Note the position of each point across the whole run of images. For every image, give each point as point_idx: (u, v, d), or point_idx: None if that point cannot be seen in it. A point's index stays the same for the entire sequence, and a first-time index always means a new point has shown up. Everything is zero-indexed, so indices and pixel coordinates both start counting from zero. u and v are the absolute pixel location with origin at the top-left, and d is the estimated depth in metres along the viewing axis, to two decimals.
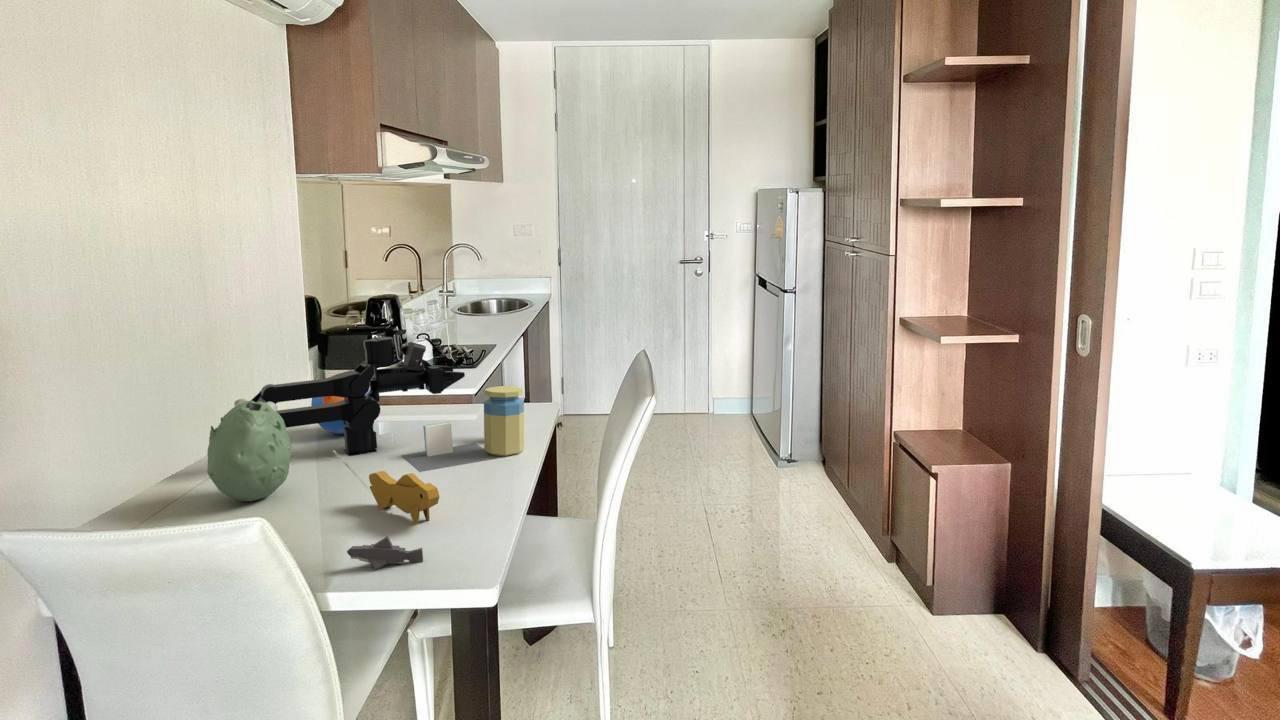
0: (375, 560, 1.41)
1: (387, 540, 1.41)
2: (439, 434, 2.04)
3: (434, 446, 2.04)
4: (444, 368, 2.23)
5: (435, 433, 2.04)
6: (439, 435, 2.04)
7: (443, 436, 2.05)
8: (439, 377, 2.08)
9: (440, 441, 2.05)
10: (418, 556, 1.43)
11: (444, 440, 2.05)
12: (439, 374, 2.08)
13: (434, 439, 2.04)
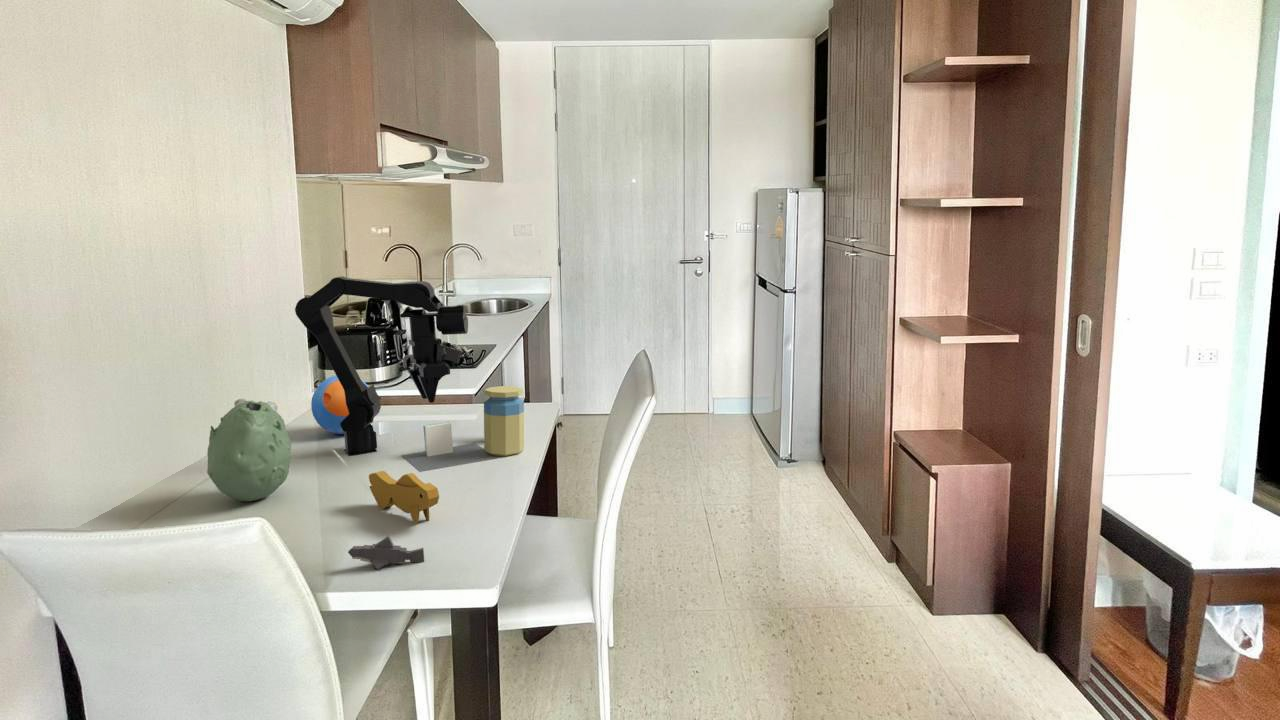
0: (376, 560, 1.41)
1: (388, 540, 1.41)
2: (439, 434, 2.04)
3: (434, 446, 2.04)
4: None
5: (435, 433, 2.04)
6: (439, 435, 2.04)
7: (443, 436, 2.05)
8: (441, 374, 2.00)
9: (440, 441, 2.05)
10: (419, 556, 1.43)
11: (444, 440, 2.05)
12: (444, 373, 2.01)
13: (434, 439, 2.04)
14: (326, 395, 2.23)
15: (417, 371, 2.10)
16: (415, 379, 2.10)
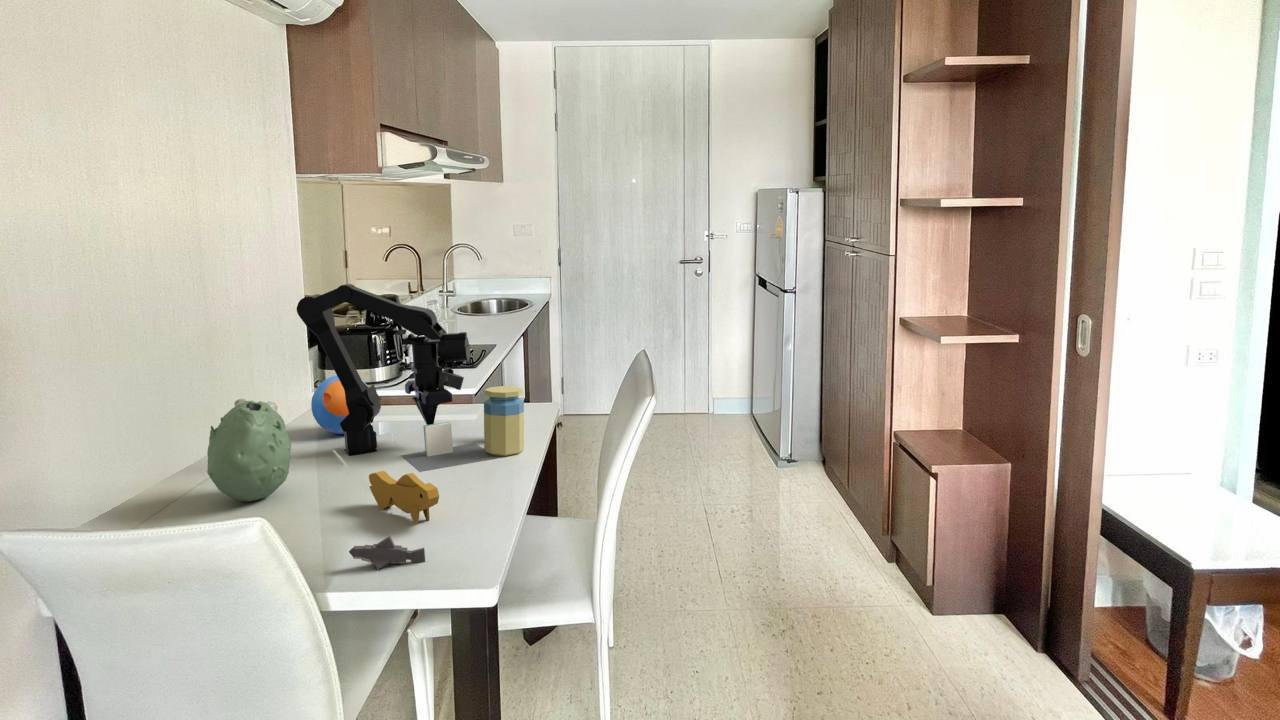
0: (377, 560, 1.41)
1: (389, 540, 1.41)
2: (439, 434, 2.04)
3: (434, 446, 2.04)
4: None
5: (435, 433, 2.04)
6: (439, 435, 2.04)
7: (443, 436, 2.05)
8: (443, 401, 2.01)
9: (440, 441, 2.05)
10: (420, 556, 1.43)
11: (444, 440, 2.05)
12: (446, 401, 2.02)
13: (434, 439, 2.04)
14: (326, 395, 2.23)
15: None
16: None
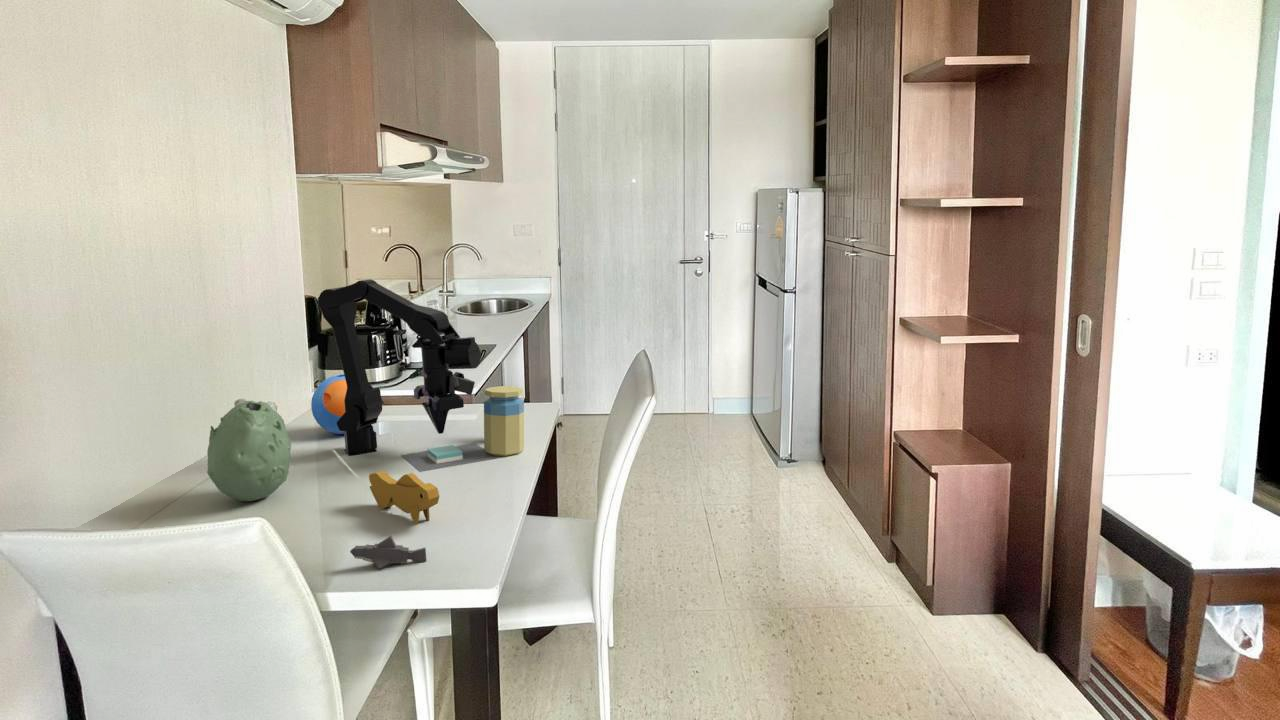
0: (378, 560, 1.41)
1: (390, 540, 1.41)
2: None
3: None
4: None
5: None
6: None
7: None
8: (454, 407, 1.94)
9: None
10: (421, 556, 1.43)
11: None
12: (457, 407, 1.95)
13: None
14: (326, 395, 2.23)
15: None
16: None
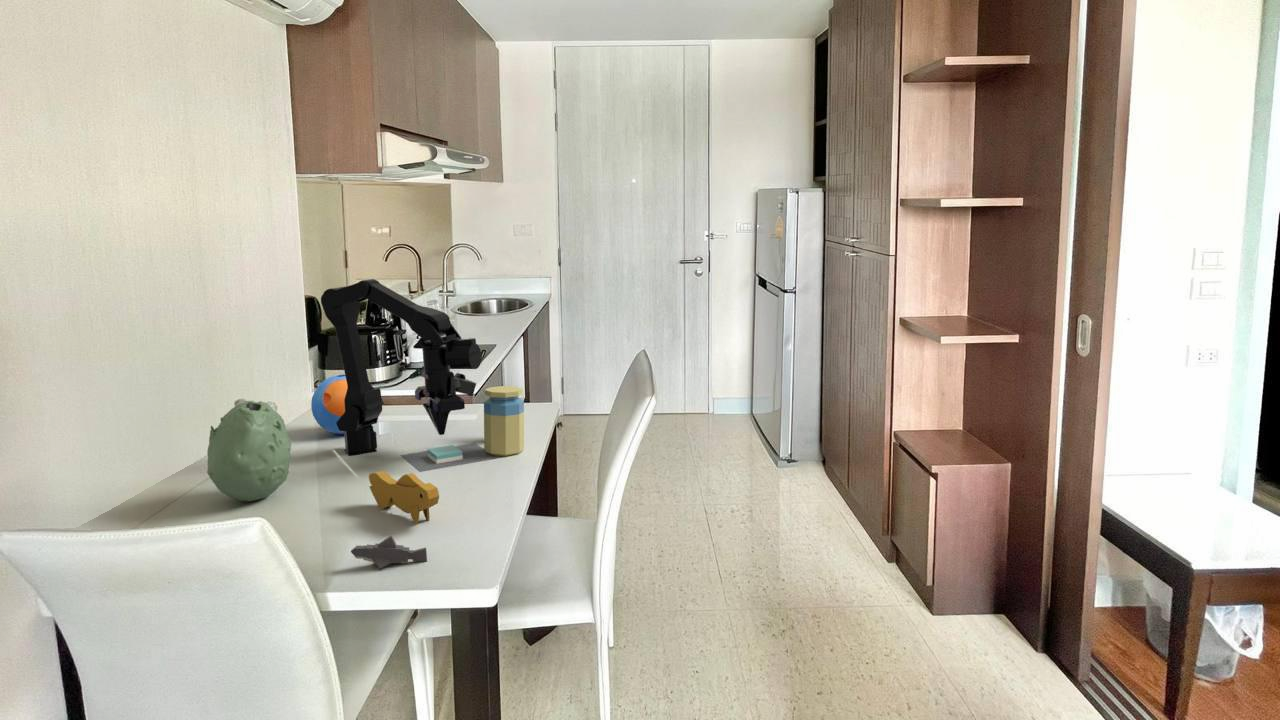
0: (379, 560, 1.41)
1: (391, 540, 1.41)
2: None
3: None
4: None
5: None
6: None
7: None
8: (455, 408, 1.94)
9: None
10: (422, 556, 1.43)
11: None
12: (458, 408, 1.94)
13: None
14: (326, 395, 2.23)
15: None
16: (431, 414, 2.01)
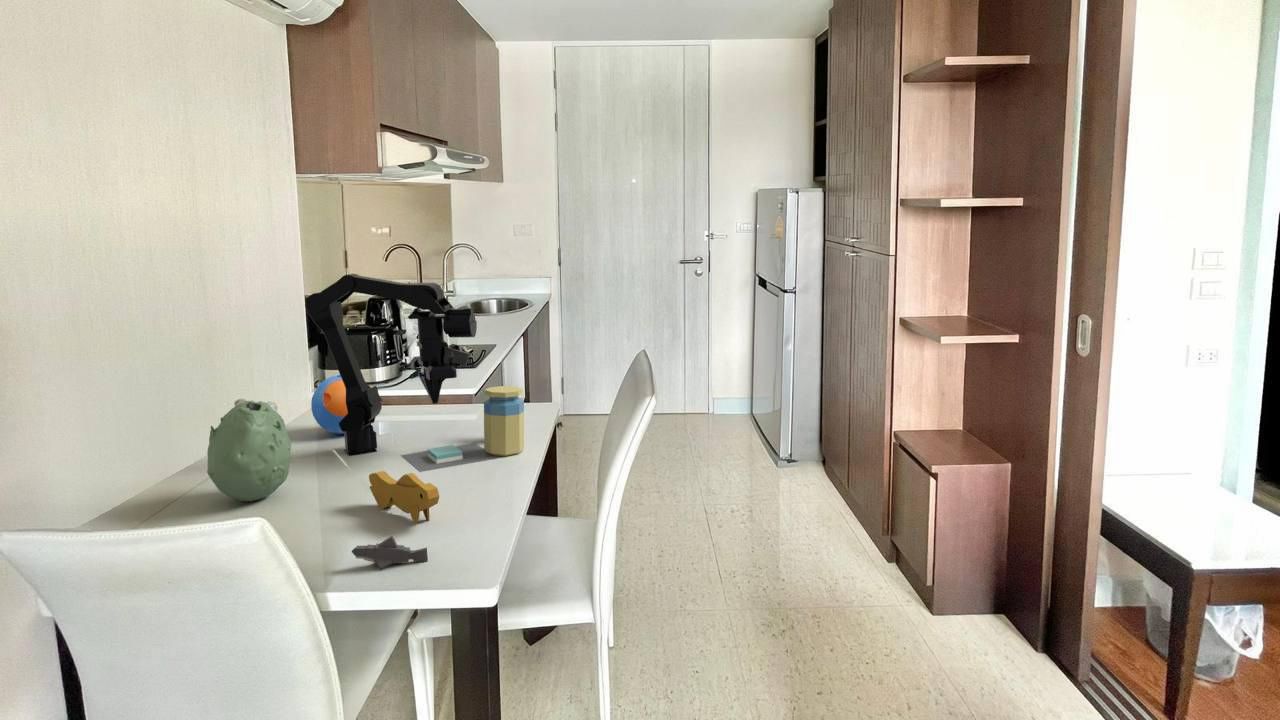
0: (380, 560, 1.41)
1: (392, 540, 1.41)
2: None
3: None
4: None
5: None
6: None
7: None
8: (447, 377, 1.98)
9: None
10: (423, 556, 1.43)
11: None
12: (450, 377, 1.98)
13: None
14: (326, 395, 2.23)
15: None
16: (425, 383, 2.06)
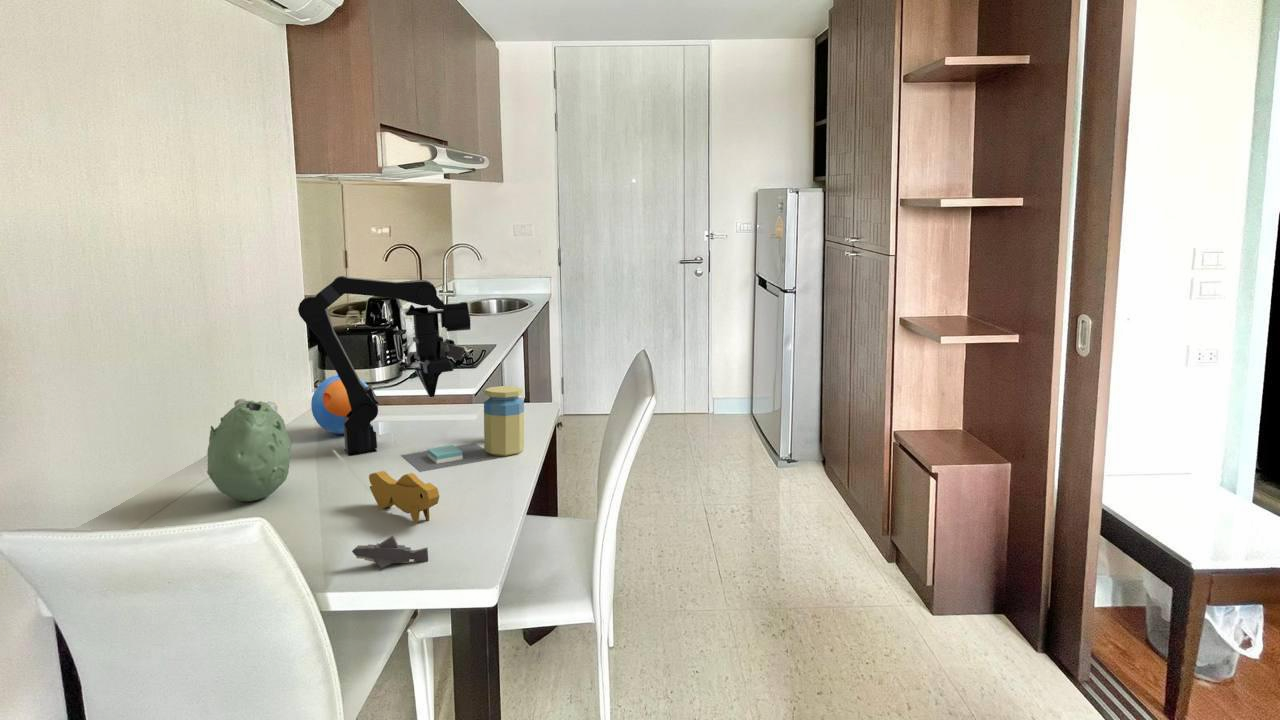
0: (380, 559, 1.41)
1: (392, 540, 1.41)
2: None
3: None
4: None
5: None
6: None
7: None
8: (444, 370, 2.05)
9: None
10: (423, 556, 1.43)
11: None
12: (447, 370, 2.05)
13: None
14: (326, 395, 2.23)
15: None
16: (422, 377, 2.12)
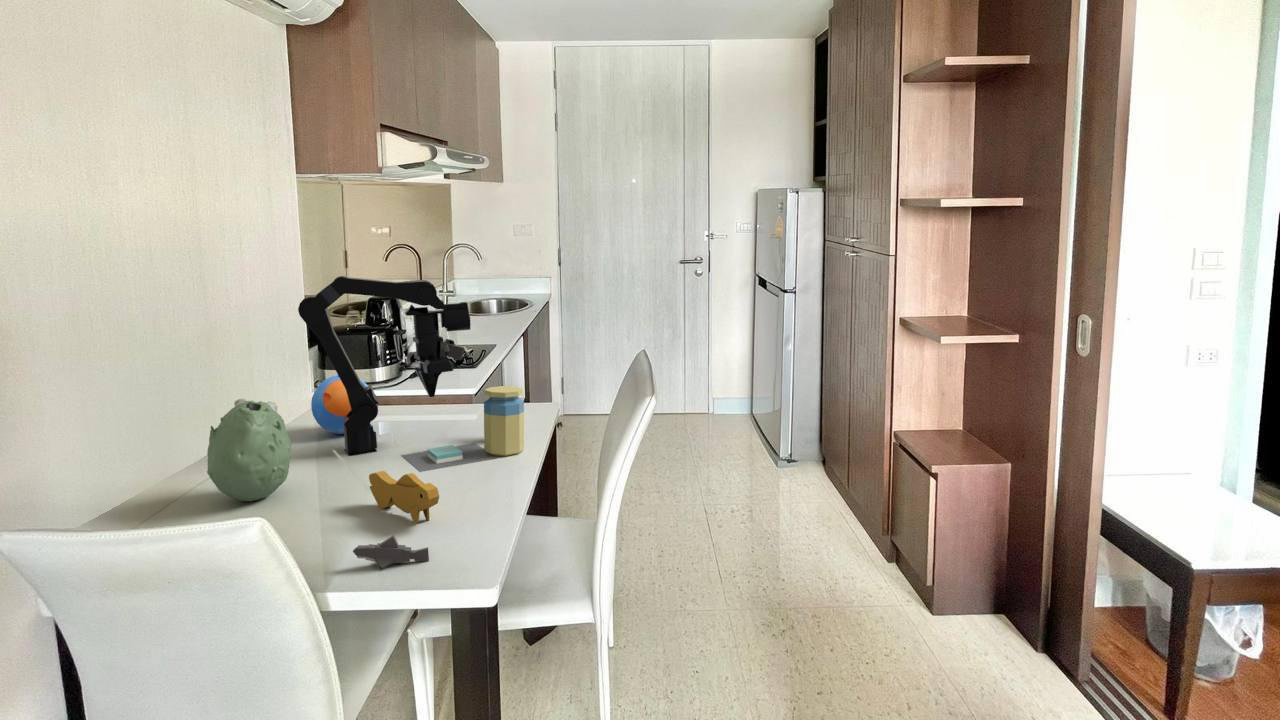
0: (381, 559, 1.41)
1: (393, 539, 1.41)
2: None
3: None
4: None
5: None
6: None
7: None
8: (444, 370, 2.05)
9: None
10: (424, 555, 1.43)
11: None
12: (447, 370, 2.05)
13: None
14: (326, 395, 2.23)
15: (424, 369, 2.12)
16: (422, 377, 2.12)
